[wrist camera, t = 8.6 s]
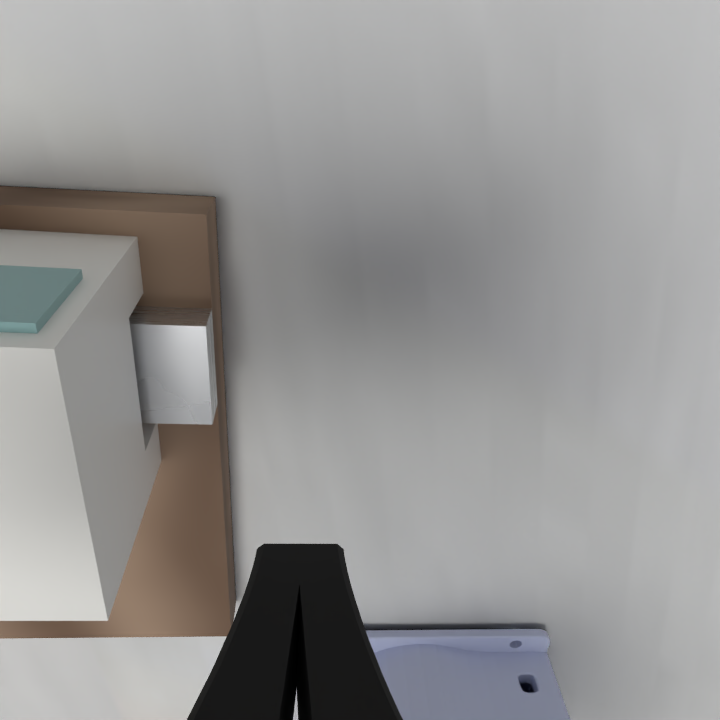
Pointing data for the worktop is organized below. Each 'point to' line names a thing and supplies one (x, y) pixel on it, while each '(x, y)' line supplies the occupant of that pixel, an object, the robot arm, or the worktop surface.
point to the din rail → (174, 364)
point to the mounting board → (177, 441)
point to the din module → (69, 424)
